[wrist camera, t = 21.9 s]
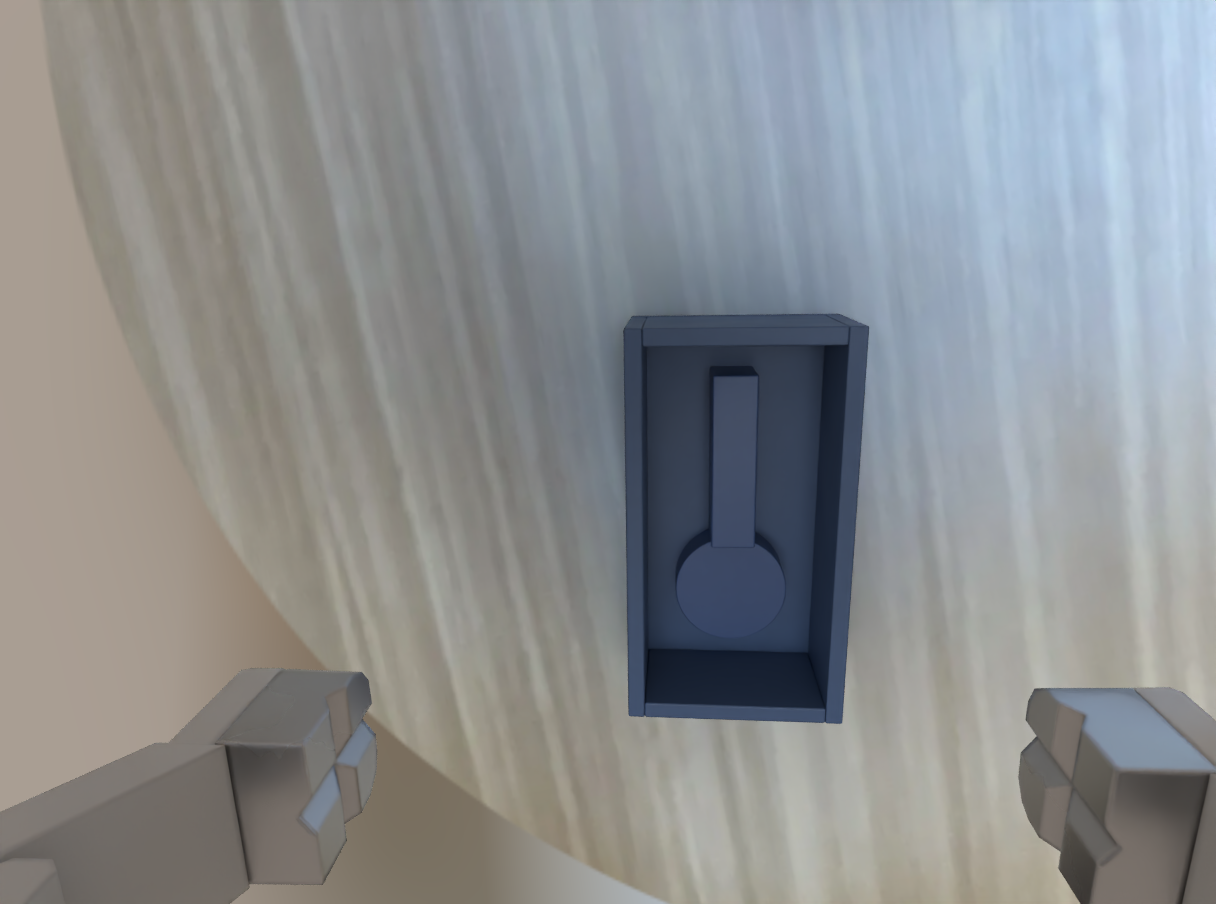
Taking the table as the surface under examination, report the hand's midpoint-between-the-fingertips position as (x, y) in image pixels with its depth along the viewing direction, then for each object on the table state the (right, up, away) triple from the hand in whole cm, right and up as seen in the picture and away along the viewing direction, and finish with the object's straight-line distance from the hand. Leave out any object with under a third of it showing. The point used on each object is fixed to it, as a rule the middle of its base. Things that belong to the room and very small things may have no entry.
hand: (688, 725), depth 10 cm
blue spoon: (+4, +2, +20) cm, 21 cm away
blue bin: (+4, +2, +21) cm, 21 cm away
